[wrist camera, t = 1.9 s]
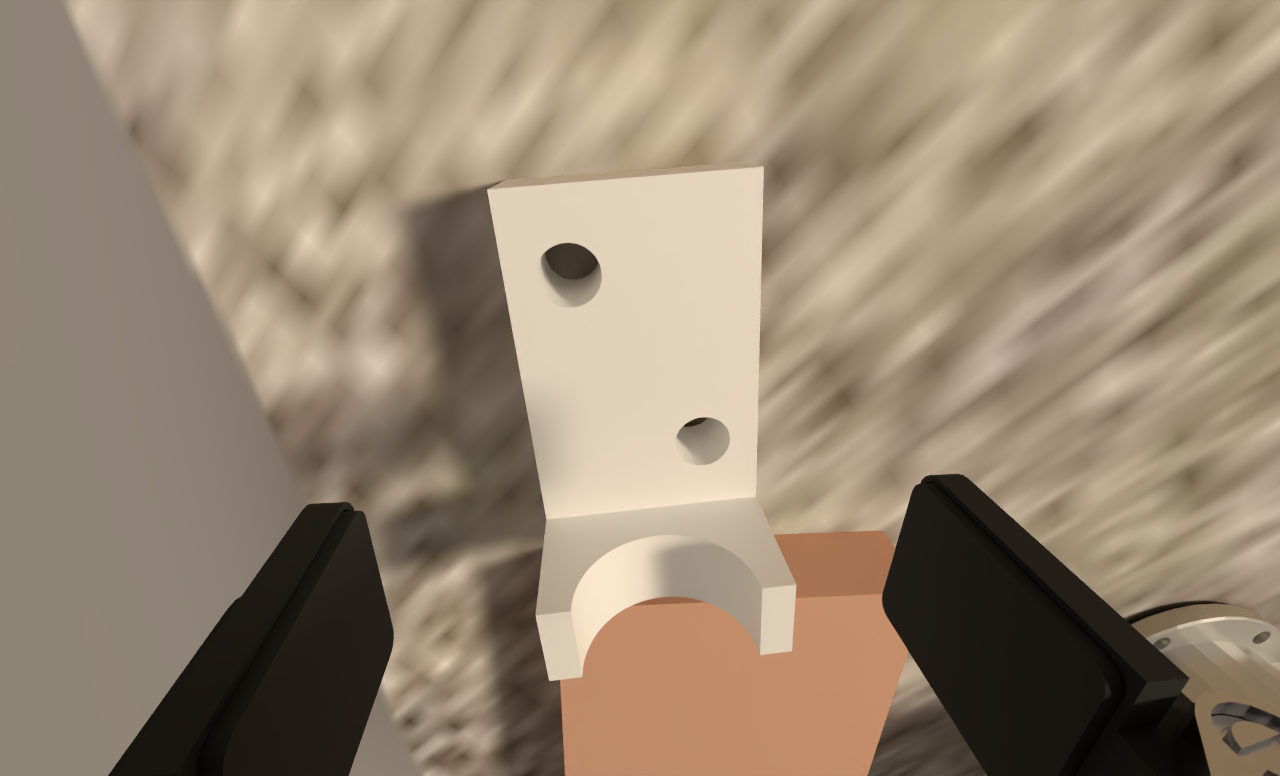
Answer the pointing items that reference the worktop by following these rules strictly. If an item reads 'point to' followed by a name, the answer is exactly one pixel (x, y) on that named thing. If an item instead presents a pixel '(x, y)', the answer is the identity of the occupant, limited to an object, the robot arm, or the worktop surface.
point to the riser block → (744, 678)
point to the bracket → (644, 397)
